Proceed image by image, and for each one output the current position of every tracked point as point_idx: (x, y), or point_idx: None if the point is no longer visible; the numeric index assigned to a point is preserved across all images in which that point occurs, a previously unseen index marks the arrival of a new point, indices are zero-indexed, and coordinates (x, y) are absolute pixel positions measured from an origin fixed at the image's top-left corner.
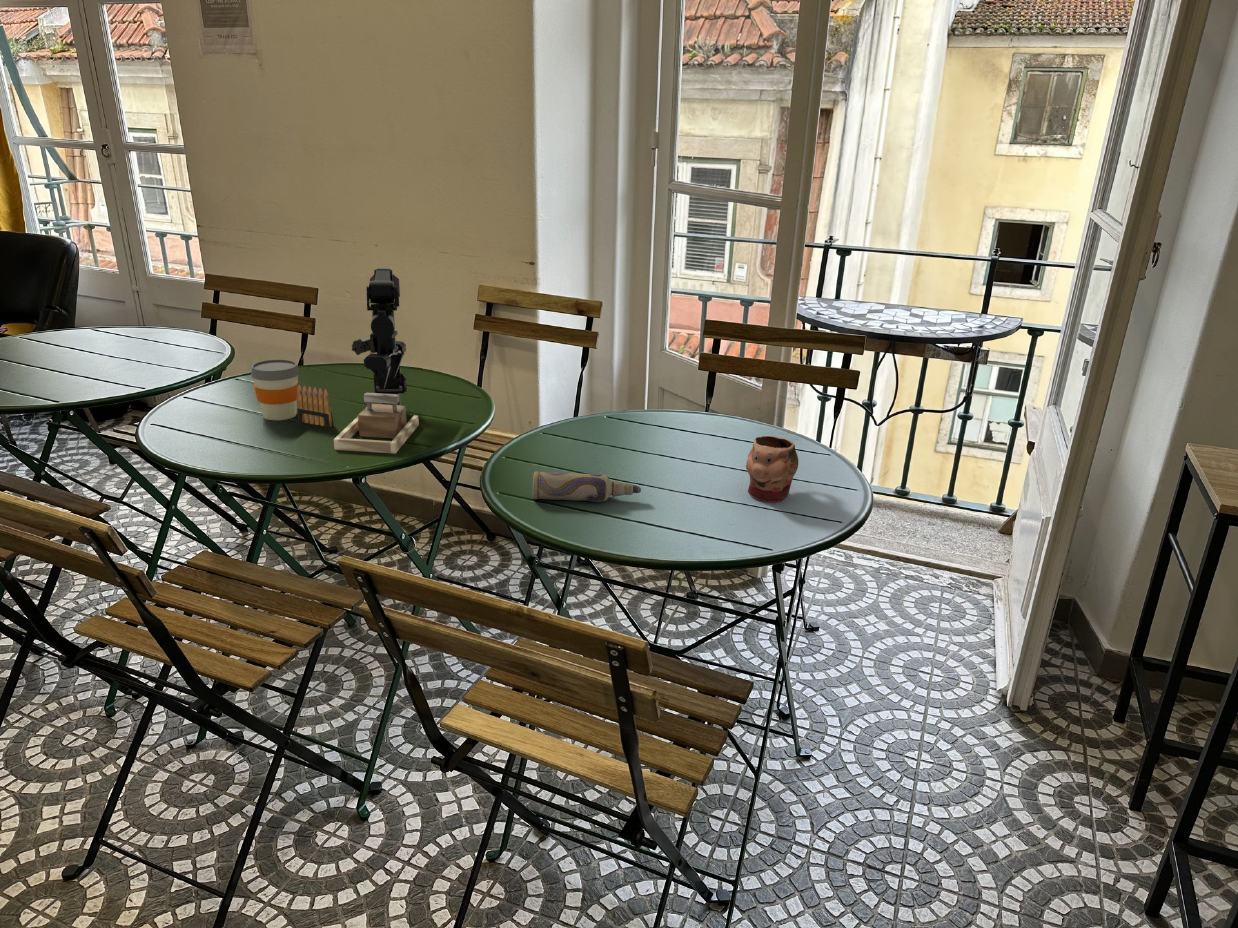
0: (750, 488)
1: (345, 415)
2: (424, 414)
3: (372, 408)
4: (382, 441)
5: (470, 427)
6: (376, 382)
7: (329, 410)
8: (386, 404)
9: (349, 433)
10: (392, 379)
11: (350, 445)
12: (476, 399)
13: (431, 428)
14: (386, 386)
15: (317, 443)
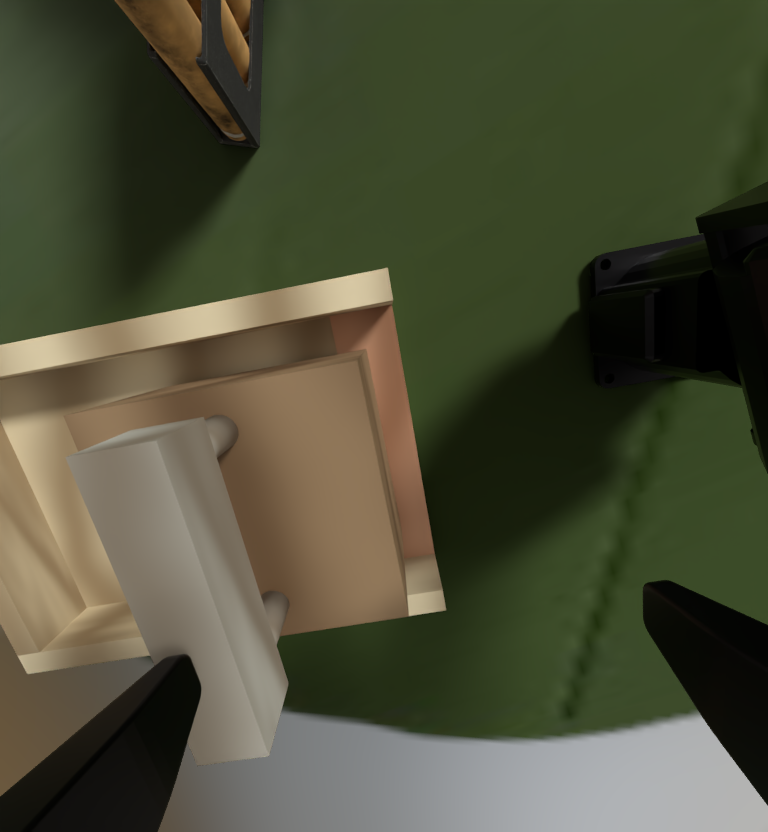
0: None
1: (519, 61)
2: (644, 498)
3: (255, 438)
4: (11, 617)
5: (520, 722)
6: (761, 249)
7: (154, 40)
8: (625, 327)
9: (81, 362)
10: (646, 608)
11: None
12: None
13: (459, 601)
14: (737, 357)
15: (29, 187)
